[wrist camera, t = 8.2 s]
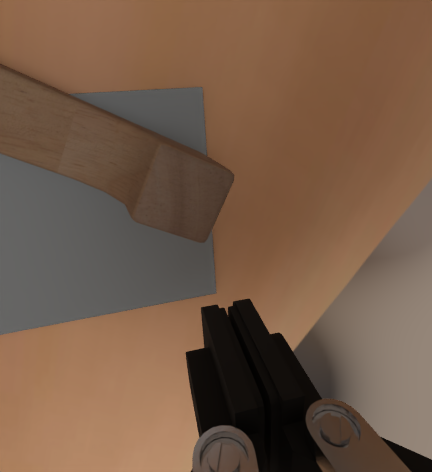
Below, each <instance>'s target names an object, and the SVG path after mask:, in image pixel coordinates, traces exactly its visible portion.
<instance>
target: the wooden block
mask: <svg viewBox="0 0 432 472" xmlns="http://www.w3.org/2000/svg"><path fill="white" fill-rule="evenodd" d="M0 154H3V155H6V156H9V157H12V158H15V159H17V160H20V161H23V162H26V163H29V164H32V165H35V166H37V167H40V168H43V169H46V170H49V171H52V172H55V173H58V174H60V175H63V176H66V177H69V178H72V179H75V180H77V181H79V182H82V183H84V184H87V185H89V186H91V187H94V188H96V189H99V190H101V191H103V192H106V193H107V194H109V195H110V196H112V197H114V198H115V199H117V200H118V201H120V202H122V203H123V204H125V206H126V208H127V210H128V212H129V214H130V216H131V218H132V219H133V220H134V221H135V222H137V223H140V224H143V225H146V226H149V227H152V228H155V229H158V230H161V231H165V232H168V233H171V234H174V235H177V236H180V237H183V238H186V239H189V240H192V241H195V242H199V243H205V241H206V240H207V239H208V237H209V235H210V232H211V230H212V228H213V226H214V223H215V221H216V219H217V217H218V214H219V212H220V210H221V208H222V206H223V203H224V201H225V199H226V197H227V194H228V192H229V190H230V188H231V185H232V183H233V181H234V174H233V173H232V172H231V171H230V170H229V169H227V168H225V167H224V166H222V165H220V164H219V163H217V162H216V161H214V160H212V159H211V158H209V157H207V156H206V155H204V154H203V153H201V152H199V151H197V150H194V149H192V148H190V147H188V146H185V145H183V144H181V143H178V142H176V141H174V140H172V139H169V138H167V137H165V136H163V135H160V134H158V133H156V132H154V131H151V130H149V129H147V128H144V127H142V126H140V125H138V124H135V123H133V122H131V121H129V120H126V119H124V118H122V117H119V116H117V115H115V114H113V113H110V112H108V111H106V110H104V109H101V108H99V107H97V106H94V105H92V104H90V103H88V102H85V101H83V100H81V99H79V98H76V97H74V96H72V95H69V94H67V93H65V92H63V91H60V90H58V89H56V88H54V87H51V86H49V85H47V84H45V83H42V82H40V81H38V80H35V79H33V78H31V77H29V76H26V75H24V74H22V73H20V72H17V71H15V70H13V69H10V68H8V67H6V66H4V65H1V64H0Z"/></svg>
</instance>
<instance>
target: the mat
mask: <svg viewBox="0 0 432 472" xmlns="http://www.w3.org/2000/svg"><path fill="white" fill-rule="evenodd" d="M69 95H72V96H74V97H76V98H79V99H81V100H83V101H85V102H88V103H90V104H92V105H94V106H97V107H99V108H101V109H104V110H106V111H108V112H110V113H113V114H115V115H117V116H119V117H122V118H124V119H126V120H129V121H131V122H133V123H135V124H138V125H140V126H142V127H144V128H147V129H149V130H151V131H154V132H156V133H158V134H160V135H163V136H165V137H167V138H169V139H172V140H174V141H176V142H178V143H181V144H183V145H185V146H188V147H190V148H192V149H194V150H197V151H199V152H201V153H203V154H204V155H206V156H207V149H206V134H205V120H204V105H203V90H202V87H195V88H176V89H156V90H137V91H118V92H99V93H79V94H69ZM215 293H216V281H215V267H214V252H213V237H212V230H211V232H210V235H209V237H208V239H207V240H206V241H205V243H199V242H195V241H192V240H189V239H186V238H183V237H180V236H177V235H174V234H171V233H168V232H165V231H161V230H158V229H155V228H152V227H149V226H146V225H143V224H140V223H137V222H135V221H134V220H133V219H132V218H131V216H130V214H129V212H128V210H127V208H126V206H125V204H123V203H122V202H120V201H118V200H117V199H115V198H114V197H112V196H110V195H109V194H107V193H106V192H103V191H101V190H99V189H96V188H94V187H91V186H89V185H87V184H84V183H82V182H79V181H77V180H75V179H72V178H69V177H66V176H63V175H60V174H58V173H55V172H52V171H49V170H46V169H43V168H40V167H37V166H35V165H32V164H29V163H26V162H23V161H20V160H17V159H15V158H12V157H9V156H6V155H3V154H0V335H1V334H7V333H12V332H17V331H22V330H27V329H33V328H38V327H43V326H48V325H53V324H59V323H64V322H69V321H74V320H80V319H85V318H90V317H95V316H100V315H106V314H111V313H116V312H121V311H126V310H132V309H137V308H142V307H147V306H152V305H158V304H163V303H168V302H173V301H178V300H184V299H189V298H194V297H199V296H204V295H210V294H215Z"/></svg>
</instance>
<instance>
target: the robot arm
mask: <svg viewBox="0 0 432 472" xmlns="http://www.w3.org/2000/svg"><path fill="white" fill-rule="evenodd" d="M201 314H202V325H203V337H204V348H203V349H198V350H193V351H188V352H186V360H187V368H188V375H189V382H190V388H191V394H192V400H193V405H194V411H195V416H196V422H197V427H198V432H199V439H198V441H197V443H196V445H195V447H194V452H193V469H192V471H191V472H432V460H431V459H429V458H427V457H424V456H422V455H420V454H418V453H415V452H413V451H411V450H409V449H407V448H404V447H402V446H399V445H398V444H395V443H393V442H391V441H389V440H386V439H384V438H382V437H380V436H378V434H377V433H376V432H375V431H374V430H373V428H372V427H371V426H370V425H369V424H368V423H367V422H366V421H365V419H364V418H363V417H362V416H361V415H360V414H359V413H358V412H357V411H356V410H355V409H354V408H352V407H351V406H349V405H347V404H346V403H344V402H342V401H338V400H335V399H322V398H321V397H320V395H319V393H318V392H317V390H316V389H315V387H314V385H313V384H312V382H311V381H310V379H309V377H308V376H307V374H306V373H305V371H304V369H303V368H302V366H301V365H300V363H299V361H298V360H297V358H296V356H295V355H294V353H293V351H292V350H291V348H290V347H289V345H288V343H287V342H286V340H285V339H284V337H283V336H282V334H280V333H275V334H269V332H268V330H267V328H266V326H265V325H264V323H263V321H262V319H261V318H260V316H259V314H258V312H257V311H256V309H255V307H254V305H253V304H252V302H251V300H250V299H244V300H239V301H234V302H233V306H230V307H228V315H227V313H226V311H225V308H219V307H218V305H212V306H206V307H201Z"/></svg>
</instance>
